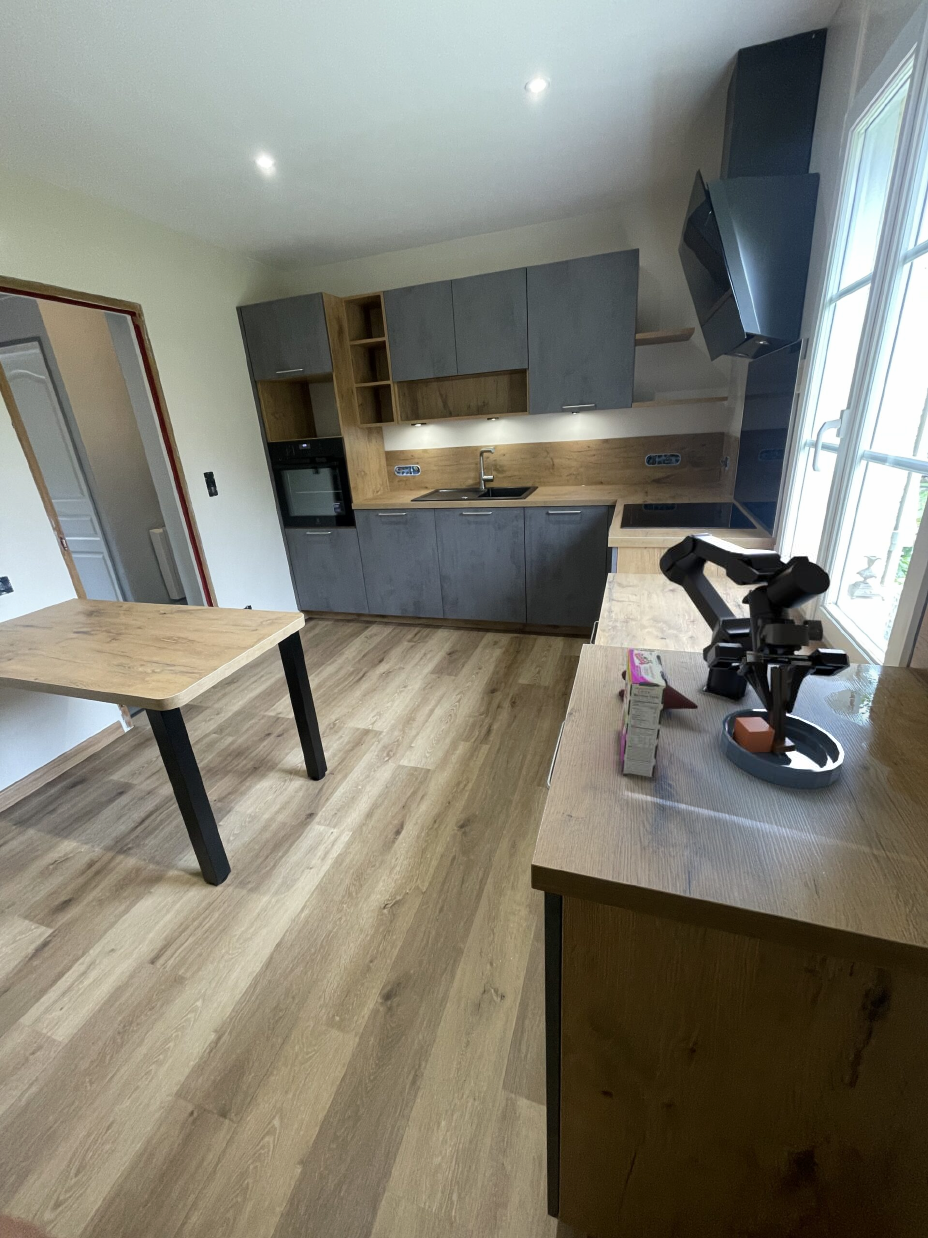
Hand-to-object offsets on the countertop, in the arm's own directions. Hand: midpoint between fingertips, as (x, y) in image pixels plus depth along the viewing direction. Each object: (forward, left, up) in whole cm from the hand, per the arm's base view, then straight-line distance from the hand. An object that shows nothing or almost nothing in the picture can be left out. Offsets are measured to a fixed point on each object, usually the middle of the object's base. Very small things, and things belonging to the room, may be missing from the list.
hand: (779, 712), depth 75 cm
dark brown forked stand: (+1, +1, -7) cm, 7 cm away
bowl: (+1, 0, -8) cm, 8 cm away
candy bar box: (-16, -14, -8) cm, 23 cm away
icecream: (-19, +1, -8) cm, 21 cm away
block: (-3, 0, -7) cm, 8 cm away
